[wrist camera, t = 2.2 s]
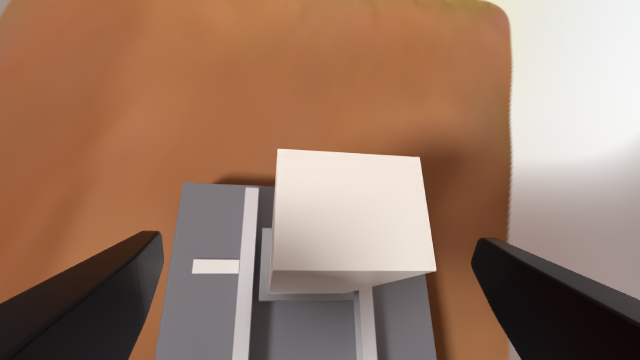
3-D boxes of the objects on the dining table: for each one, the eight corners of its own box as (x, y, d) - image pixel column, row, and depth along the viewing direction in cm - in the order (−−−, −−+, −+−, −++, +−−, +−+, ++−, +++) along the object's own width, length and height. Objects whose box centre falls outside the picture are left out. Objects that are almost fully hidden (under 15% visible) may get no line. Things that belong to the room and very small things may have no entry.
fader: (348, 300, 14) (457, 284, 6) (259, 301, 14) (249, 285, 6) (345, 234, 16) (434, 148, 7) (262, 233, 15) (259, 137, 7)
